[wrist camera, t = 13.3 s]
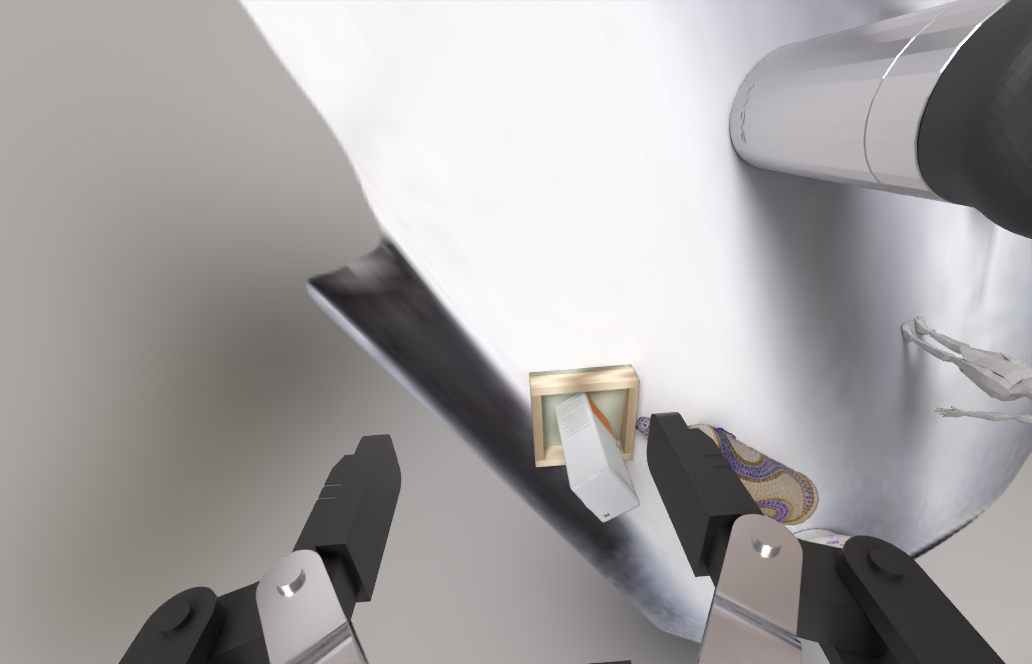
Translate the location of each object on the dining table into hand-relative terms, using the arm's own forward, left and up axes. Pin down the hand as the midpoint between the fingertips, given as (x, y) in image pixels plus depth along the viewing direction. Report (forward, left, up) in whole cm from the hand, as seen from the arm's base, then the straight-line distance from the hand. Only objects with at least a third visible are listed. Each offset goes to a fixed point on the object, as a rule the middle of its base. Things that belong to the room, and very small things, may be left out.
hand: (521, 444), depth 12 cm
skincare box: (-7, +22, -28) cm, 36 cm away
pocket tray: (-7, +22, -28) cm, 36 cm away
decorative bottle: (-25, +29, -28) cm, 48 cm away
